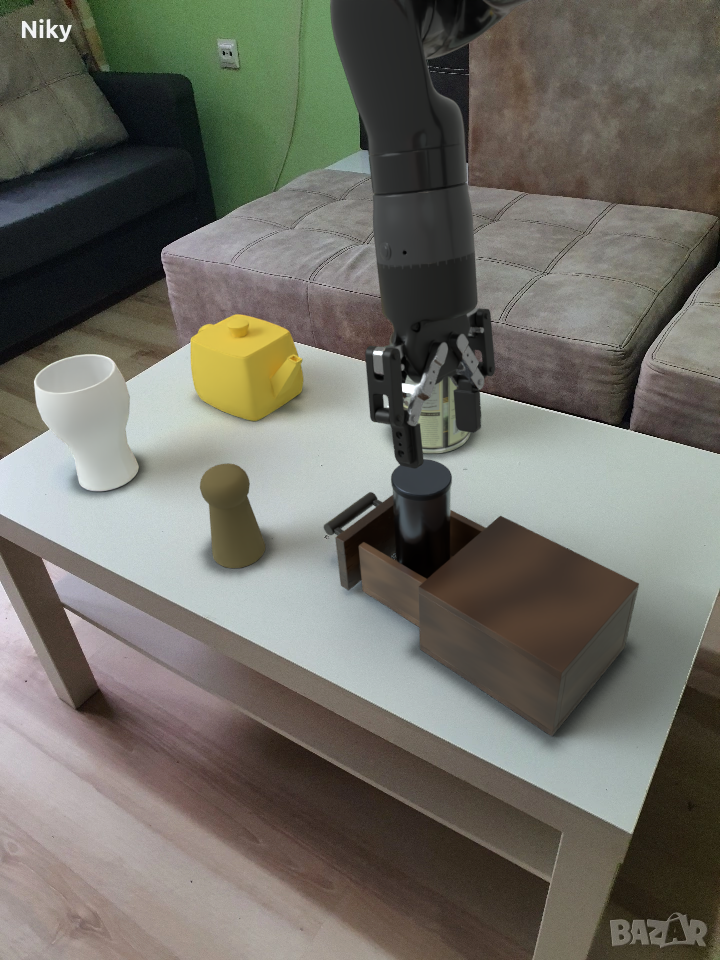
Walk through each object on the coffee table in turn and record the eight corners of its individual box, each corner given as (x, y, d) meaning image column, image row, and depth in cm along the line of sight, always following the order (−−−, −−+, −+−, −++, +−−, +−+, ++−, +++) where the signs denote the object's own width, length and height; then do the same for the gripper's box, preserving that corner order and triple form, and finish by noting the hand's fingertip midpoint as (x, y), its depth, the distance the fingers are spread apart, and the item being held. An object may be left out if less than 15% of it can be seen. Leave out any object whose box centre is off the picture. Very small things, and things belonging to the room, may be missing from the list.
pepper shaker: (201, 552, 85) (181, 475, 79) (242, 524, 89) (226, 448, 82) (235, 576, 82) (217, 497, 75) (276, 546, 85) (262, 469, 79)
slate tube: (457, 565, 78) (459, 464, 70) (440, 602, 74) (440, 500, 66) (407, 552, 80) (403, 453, 72) (387, 588, 76) (381, 487, 68)
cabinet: (419, 649, 72) (417, 586, 67) (496, 577, 79) (500, 515, 74) (552, 737, 64) (561, 672, 59) (624, 648, 71) (639, 583, 66)
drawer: (312, 567, 81) (305, 519, 77) (383, 514, 87) (380, 467, 83) (442, 651, 71) (442, 601, 67) (512, 584, 77) (516, 535, 73)
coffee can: (403, 408, 107) (399, 316, 98) (476, 415, 104) (479, 321, 96) (385, 450, 99) (380, 354, 90) (463, 458, 96) (465, 360, 88)
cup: (122, 441, 105) (92, 343, 96) (165, 470, 99) (137, 369, 89) (52, 477, 99) (12, 377, 90) (93, 510, 93) (55, 406, 84)
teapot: (333, 396, 110) (325, 322, 103) (274, 436, 103) (262, 360, 96) (238, 361, 121) (225, 292, 114) (179, 395, 114) (161, 323, 106)
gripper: (407, 270, 51) (427, 488, 57) (516, 234, 60) (522, 425, 67) (326, 269, 55) (353, 470, 62) (438, 236, 65) (452, 414, 71)
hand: (441, 447), depth 64 cm, fingers open, 8 cm apart
